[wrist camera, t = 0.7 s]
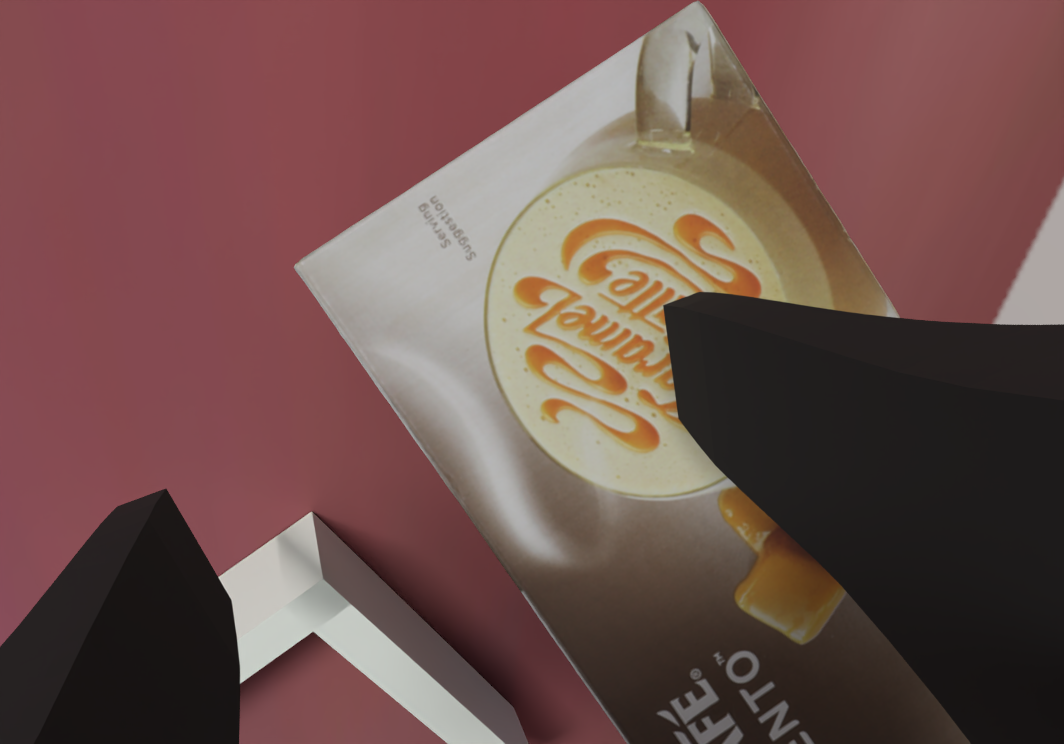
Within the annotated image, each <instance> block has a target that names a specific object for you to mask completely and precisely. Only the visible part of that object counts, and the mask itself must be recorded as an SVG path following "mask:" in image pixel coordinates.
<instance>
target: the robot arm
mask: <svg viewBox="0 0 1064 744" xmlns="http://www.w3.org/2000/svg"><path fill="white" fill-rule="evenodd" d="M663 309H664V316H665V324H666V331H667V338H668V346H669V353H670V360H671V368H672V375H673V382H674V390H675V397H676V404H677V412H678V419H679V420H680V422H681V423H682V424H683V426H684V427H685V428H686V429H687V431H688V432H689V433H690V435H691V436H692V437H693V439H694V440H695V441H696V443H697V444H698V445H699V446H700V448H701V449H702V450H703V451H704V452H705V454H706V455H707V456H708V457H709V459H710V460H711V461H712V462H713V463H714V465H715V466H716V467H717V468H718V469H719V470H720V471H721V472H722V473H723V474H724V475H725V476H726V477H727V478H729V479H730V480H731V481H732V482H733V483H734V484H735V485H736V486H737V487H738V488H739V489H740V490H741V491H742V492H743V493H744V494H745V495H746V496H747V497H749V498H750V499H751V500H752V501H753V502H754V503H755V504H756V505H757V506H758V507H759V508H760V509H761V510H762V511H764V512H765V513H766V514H767V515H768V516H769V517H770V518H771V519H772V520H773V521H774V522H775V523H776V524H778V525H779V526H780V527H781V528H782V529H783V530H784V531H785V532H786V533H787V534H788V535H789V536H790V537H791V538H793V539H794V540H795V541H796V542H797V543H798V544H799V545H800V546H801V547H802V548H803V549H804V550H805V551H807V552H808V553H809V554H810V555H811V556H812V557H813V558H814V559H815V560H816V561H817V562H818V563H819V564H820V565H821V566H822V567H823V568H824V569H825V570H826V571H827V572H828V573H829V574H830V575H831V576H832V577H833V578H834V579H835V580H836V581H837V582H838V583H839V584H840V585H841V586H842V587H843V588H844V590H845V591H846V592H847V593H848V594H849V595H850V596H851V598H852V599H853V600H854V601H855V602H856V603H857V605H858V606H859V607H860V608H861V609H862V610H863V611H864V613H865V614H866V615H867V616H868V617H869V618H870V620H871V621H872V622H873V623H874V624H875V625H876V626H877V628H878V629H879V630H880V631H881V632H882V633H883V635H884V636H885V637H886V638H887V639H888V640H889V642H890V643H891V644H892V645H893V646H894V648H895V649H896V650H897V651H898V653H899V654H900V655H901V656H902V657H903V659H904V660H905V661H906V662H907V664H908V665H909V666H910V667H911V668H912V670H913V671H914V672H915V673H916V675H917V676H918V677H919V678H920V679H921V681H922V682H923V683H924V684H925V686H926V687H927V688H928V689H929V690H930V692H931V693H932V694H933V695H934V697H935V698H936V699H937V700H938V702H939V703H940V704H941V705H942V707H943V708H944V709H945V711H946V712H947V713H948V714H949V716H950V717H951V718H952V720H953V721H954V722H955V724H956V725H957V726H958V727H959V729H960V730H961V731H962V733H963V734H964V735H965V737H966V738H967V739H968V740H969V742H970V743H971V744H1064V325H999V324H977V323H955V322H938V321H925V320H913V319H904V318H895V317H886V316H877V315H868V314H860V313H853V312H845V311H838V310H832V309H825V308H818V307H812V306H805V305H799V304H793V303H787V302H780V301H774V300H768V299H762V298H755V297H749V296H742V295H734V294H726V293H716V292H697V293H695V294H692V295H689V296H687V297H684V298H681V299H678V300H676V301H673V302H670V303H668V304H665V305H663ZM239 718H240V661H239V652H238V643H237V635H236V628H235V620H234V613H233V606H232V600H231V598H230V597H229V595H228V593H227V592H226V590H225V588H224V586H223V585H222V583H221V581H220V580H219V578H218V576H217V574H216V573H215V571H214V569H213V568H212V566H211V564H210V563H209V561H208V559H207V557H206V556H205V554H204V552H203V551H202V549H201V547H200V545H199V544H198V542H197V540H196V539H195V537H194V535H193V534H192V532H191V530H190V528H189V527H188V525H187V523H186V522H185V520H184V518H183V516H182V515H181V513H180V511H179V510H178V508H177V506H176V504H175V503H174V501H173V499H172V498H171V496H170V494H169V493H168V491H167V489H164V490H161V491H158V492H156V493H153V494H150V495H147V496H145V497H142V498H139V499H137V500H134V501H131V502H128V503H126V504H123V505H120V506H118V507H116V508H115V509H114V510H113V511H112V512H111V513H110V514H109V515H108V517H107V518H106V519H105V520H104V521H103V522H102V523H101V524H100V526H99V527H98V528H97V529H96V530H95V532H94V533H93V534H92V535H91V536H90V538H89V539H88V540H87V541H86V543H85V544H84V545H83V546H82V548H81V549H80V550H79V551H78V553H77V554H76V555H75V556H74V558H73V559H72V560H71V561H70V563H69V564H68V565H67V566H66V568H65V569H64V570H63V571H62V573H61V574H60V575H59V576H58V578H57V579H56V580H55V581H54V583H53V584H52V585H51V586H50V588H49V589H48V590H47V591H46V593H45V594H44V595H43V596H42V597H41V599H40V600H39V601H38V602H37V604H36V605H35V606H34V607H33V609H32V610H31V611H30V612H29V614H28V615H27V616H26V617H25V619H24V620H23V621H22V622H21V623H20V625H19V626H18V627H17V628H16V629H15V631H14V632H13V633H12V634H11V635H10V636H9V637H8V639H7V640H6V641H5V642H4V643H3V644H2V646H1V647H0V744H239Z"/></svg>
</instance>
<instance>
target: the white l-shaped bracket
mask: <svg viewBox="0 0 1064 744" xmlns="http://www.w3.org/2000/svg"><path fill="white" fill-rule="evenodd" d="M218 578H219V580H220V581H221V583H222V585H223V586H224V588H225V590H226V592H227V593H228V595H229V597H230V598H231V600H232V606H233V613H234V620H235V628H236V635H237V643H238V652H239V661H240V683H242V682H243V681H245V680H246V679H247V678H249V677H250V676H252V675H253V674H254V673H256V672H257V671H259V670H260V669H261V668H263V667H264V666H266V665H267V664H268V663H270V662H271V661H273V660H274V659H275V658H277V657H278V656H280V655H281V654H282V653H284V652H285V651H287V650H288V649H289V648H291V647H292V646H294V645H295V644H296V643H298V642H299V641H301V640H302V639H303V638H305V637H306V636H308V635H309V634H310V633H312V632H314V633H316V634H317V635H318V636H319V637H320V638H322V639H323V640H324V641H325V642H326V643H328V644H329V645H330V646H331V647H332V648H334V649H335V650H336V651H337V652H338V653H340V654H341V655H342V656H343V657H344V658H346V659H347V660H348V661H349V662H350V663H352V664H353V665H354V666H355V667H356V668H358V669H359V670H360V671H361V672H362V673H364V674H365V675H366V676H367V677H368V678H370V679H371V680H372V681H373V682H374V683H376V684H377V685H378V686H379V687H380V688H382V689H383V690H384V691H385V692H386V693H388V694H389V695H390V696H391V697H392V698H394V699H395V700H396V701H397V702H398V703H400V704H401V705H402V706H403V707H404V708H406V709H407V710H408V711H409V712H410V713H412V714H413V715H414V716H415V717H416V718H418V719H419V720H420V721H421V722H422V723H424V724H425V725H426V726H427V727H428V728H430V729H431V730H432V731H433V732H434V733H436V734H437V735H438V736H439V737H440V738H442V739H443V740H444V741H445V742H446V743H448V744H529V743H528V741H527V739H526V736H525V734H524V731H523V729H522V726H521V724H520V721H519V719H518V717H517V714H516V712H515V709H514V707H513V706H512V705H511V704H510V703H509V702H508V701H507V700H506V699H505V698H503V697H502V696H501V695H500V694H499V693H498V692H497V691H496V690H495V689H494V688H493V687H492V686H491V685H490V684H489V683H488V682H487V681H486V680H485V679H484V678H483V677H482V676H481V675H480V674H479V673H478V672H477V671H476V670H475V669H474V668H473V667H472V666H471V665H470V664H468V663H467V662H466V661H465V660H464V659H463V658H462V657H461V656H460V655H459V654H458V653H457V652H456V651H455V650H454V649H453V648H452V647H451V646H450V645H449V644H448V643H447V642H446V641H445V640H444V639H443V638H442V637H441V636H440V635H439V634H438V633H437V632H436V631H434V630H433V629H432V628H431V627H430V626H429V625H428V624H427V623H426V622H425V621H424V620H423V619H422V618H421V617H420V616H419V615H418V614H417V613H416V612H415V611H414V610H413V609H412V608H411V607H410V606H409V605H408V604H407V603H406V602H405V601H404V600H403V599H402V598H400V597H399V596H398V595H397V594H396V593H395V592H394V591H393V590H392V589H391V588H390V587H389V586H388V585H387V584H386V583H385V582H384V581H383V580H382V579H381V578H380V577H379V576H378V575H377V574H376V573H375V572H374V571H373V570H372V569H371V568H370V567H369V566H368V565H366V564H365V563H364V562H363V561H362V560H361V559H360V558H359V557H358V556H357V555H356V554H355V553H354V552H353V551H352V550H351V549H350V548H349V547H348V546H347V545H346V544H345V543H344V542H343V541H342V540H341V539H340V538H339V537H338V536H337V535H336V534H335V533H334V532H332V531H331V530H330V529H329V528H328V527H327V526H326V525H325V524H324V523H323V522H322V521H321V520H320V519H319V518H318V517H317V516H316V515H315V514H314V513H313V512H310V513H309V514H307V515H306V516H305V517H303V518H302V519H300V520H299V521H297V522H296V523H295V524H293V525H292V526H290V527H289V528H288V529H286V530H285V531H283V532H282V533H280V534H279V535H278V536H276V537H275V538H273V539H272V540H271V541H269V542H268V543H266V544H265V545H263V546H262V547H261V548H259V549H258V550H256V551H255V552H253V553H252V554H251V555H249V556H248V557H246V558H245V559H244V560H242V561H241V562H239V563H238V564H236V565H235V566H234V567H232V568H231V569H229V570H228V571H227V572H225V573H224V574H222V575H221V576H219V577H218Z"/></svg>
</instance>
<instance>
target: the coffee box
mask: <svg viewBox="0 0 1064 744" xmlns="http://www.w3.org/2000/svg"><path fill="white" fill-rule="evenodd" d="M294 268H295V270H296V272H297V273H298V274H299V276H300V277H301V278H302V280H303V281H304V282H305V283H306V285H307V286H308V288H309V289H310V291H311V292H312V293H313V295H314V296H315V298H316V299H317V301H318V302H319V304H320V305H321V306H322V308H323V309H324V311H325V312H326V314H327V315H328V317H329V318H330V319H331V321H332V322H333V324H334V325H335V327H336V328H337V330H338V331H339V333H340V335H341V336H342V337H343V339H344V340H345V341H346V342H347V344H348V345H349V347H350V348H351V350H352V351H353V353H354V354H355V355H356V357H357V358H358V360H359V361H360V363H361V364H362V365H363V367H364V368H365V370H366V371H367V373H368V374H369V376H370V377H371V379H372V380H373V381H374V383H375V384H376V386H377V387H378V389H379V390H380V392H381V393H382V394H383V396H384V397H385V398H386V400H387V401H388V402H389V404H390V405H391V407H392V408H393V409H394V411H395V412H396V414H397V415H398V417H399V418H400V420H401V421H402V422H403V424H404V425H405V427H406V428H407V430H408V431H409V432H410V434H411V435H412V437H413V438H414V440H415V441H416V443H417V444H418V445H419V447H420V448H421V450H422V451H423V452H424V454H425V455H426V457H427V458H428V459H429V461H430V462H431V463H432V465H433V466H434V468H435V469H436V470H437V472H438V473H439V475H440V476H441V478H442V480H443V481H444V483H445V484H446V485H447V487H448V488H449V489H450V491H451V492H452V493H453V495H454V496H455V497H456V499H457V500H458V502H459V503H460V504H461V506H462V507H463V509H464V510H465V512H466V513H467V515H468V516H469V518H470V519H471V520H472V522H473V523H474V525H475V526H476V528H477V529H478V531H479V532H480V534H481V535H482V536H483V538H484V539H485V541H486V542H487V544H488V545H489V547H490V548H491V550H492V551H493V553H494V554H495V555H496V557H497V558H498V560H499V561H500V563H501V564H502V566H503V567H504V569H505V570H506V571H507V573H508V574H509V576H510V577H511V578H512V580H513V581H514V583H515V584H516V585H517V587H518V588H519V590H520V591H521V592H522V594H523V595H524V597H525V598H526V600H527V601H528V603H529V604H530V606H531V607H532V609H533V610H534V611H535V613H536V614H537V616H538V617H539V619H540V620H541V622H542V623H543V625H544V626H545V628H546V629H547V630H548V632H549V633H550V635H551V636H552V638H553V639H554V640H555V642H556V643H557V645H558V646H559V648H560V649H561V650H562V652H563V653H564V655H565V656H566V657H567V659H568V660H569V662H570V663H571V665H572V666H573V667H574V669H575V670H576V672H577V673H578V675H579V676H580V678H581V679H582V680H583V682H584V683H585V685H586V686H587V688H588V689H589V690H590V692H591V693H592V695H593V696H594V697H595V699H596V700H597V702H598V703H599V704H600V706H601V707H602V709H603V710H604V712H605V713H606V714H607V716H608V717H609V719H610V720H611V721H612V723H613V724H614V726H615V727H616V729H617V730H618V731H619V733H620V734H621V736H622V737H623V738H624V740H625V741H626V743H627V744H971V743H970V742H969V740H968V739H967V738H966V737H965V735H964V734H963V733H962V731H961V730H960V729H959V727H958V726H957V725H956V724H955V722H954V721H953V720H952V718H951V717H950V716H949V714H948V713H947V712H946V711H945V709H944V708H943V707H942V705H941V704H940V703H939V702H938V700H937V699H936V698H935V697H934V695H933V694H932V693H931V692H930V690H929V689H928V688H927V687H926V686H925V684H924V683H923V682H922V681H921V679H920V678H919V677H918V676H917V675H916V673H915V672H914V671H913V670H912V668H911V667H910V666H909V665H908V664H907V662H906V661H905V660H904V659H903V657H902V656H901V655H900V654H899V653H898V651H897V650H896V649H895V648H894V646H893V645H892V644H891V643H890V642H889V640H888V639H887V638H886V637H885V636H884V635H883V633H882V632H881V631H880V630H879V629H878V628H877V626H876V625H875V624H874V623H873V622H872V621H871V620H870V618H869V617H868V616H867V615H866V614H865V613H864V611H863V610H862V609H861V608H860V607H859V606H858V605H857V603H856V602H855V601H854V600H853V599H852V598H851V596H850V595H849V594H848V593H847V592H846V591H845V590H844V588H843V587H842V586H841V585H840V584H839V583H838V582H837V581H836V580H835V579H834V578H833V577H832V576H831V575H830V574H829V573H828V572H827V571H826V570H825V569H824V568H823V567H822V566H821V565H820V564H819V563H818V562H817V561H816V560H815V559H814V558H813V557H812V556H811V555H810V554H809V553H808V552H807V551H805V550H804V549H803V548H802V547H801V546H800V545H799V544H798V543H797V542H796V541H795V540H794V539H793V538H791V537H790V536H789V535H788V534H787V533H786V532H785V531H784V530H783V529H782V528H781V527H780V526H779V525H778V524H776V523H775V522H774V521H773V520H772V519H771V518H770V517H769V516H768V515H767V514H766V513H765V512H764V511H762V510H761V509H760V508H759V507H758V506H757V505H756V504H755V503H754V502H753V501H752V500H751V499H750V498H749V497H747V496H746V495H745V494H744V493H743V492H742V491H741V490H740V489H739V488H738V487H737V486H736V485H735V484H734V483H733V482H732V481H731V480H730V479H729V478H727V477H726V476H725V475H724V474H723V473H722V472H721V471H720V470H719V469H718V468H717V467H716V466H715V465H714V463H713V462H712V461H711V460H710V459H709V457H708V456H707V455H706V454H705V452H704V451H703V450H702V449H701V448H700V446H699V445H698V444H697V443H696V441H695V440H694V439H693V437H692V436H691V435H690V433H689V432H688V431H687V429H686V428H685V427H684V426H683V424H682V423H681V422H680V420H679V419H678V412H677V404H676V397H675V390H674V382H673V375H672V368H671V360H670V353H669V346H668V338H667V331H666V324H665V316H664V309H663V305H665V304H668V303H670V302H673V301H676V300H678V299H681V298H684V297H687V296H689V295H692V294H695V293H697V292H716V293H726V294H734V295H742V296H749V297H755V298H762V299H768V300H774V301H780V302H787V303H793V304H799V305H805V306H812V307H818V308H825V309H832V310H838V311H845V312H853V313H860V314H868V315H877V316H886V317H895V318H900V317H899V315H898V313H897V311H896V310H895V308H894V306H893V305H892V303H891V301H890V300H889V298H888V297H887V295H886V294H885V292H884V291H883V289H882V287H881V286H880V284H879V283H878V281H877V279H876V278H875V276H874V275H873V273H872V271H871V270H870V268H869V267H868V265H867V264H866V262H865V260H864V259H863V257H862V256H861V254H860V252H859V251H858V249H857V247H856V246H855V244H854V243H853V241H852V240H851V239H850V237H849V235H848V234H847V232H846V230H845V228H844V227H843V225H842V223H841V222H840V220H839V218H838V217H837V215H836V214H835V212H834V211H833V209H832V208H831V206H830V205H829V203H828V202H827V200H826V199H825V197H824V196H823V194H822V192H821V191H820V189H819V188H818V186H817V184H816V183H815V181H814V179H813V178H812V176H811V174H810V173H809V171H808V170H807V169H806V167H805V165H804V164H803V162H802V160H801V159H800V157H799V155H798V154H797V152H796V151H795V149H794V148H793V146H792V145H791V143H790V142H789V140H788V139H787V137H786V136H785V134H784V133H783V131H782V129H781V128H780V126H779V124H778V123H777V121H776V119H775V118H774V116H773V115H772V113H771V111H770V110H769V108H768V107H767V105H766V104H765V102H764V101H763V99H762V97H761V96H760V94H759V93H758V91H757V89H756V88H755V86H754V85H753V83H752V81H751V80H750V78H749V76H748V75H747V73H746V71H745V70H744V68H743V67H742V65H741V63H740V62H739V60H738V58H737V57H736V55H735V54H734V52H733V50H732V49H731V47H730V46H729V44H728V42H727V41H726V39H725V38H724V36H723V34H722V33H721V31H720V29H719V28H718V26H717V24H716V23H715V21H714V20H713V18H712V17H711V15H710V14H709V12H708V11H707V9H706V8H705V6H704V5H703V4H702V3H700V2H699V1H696V2H694V3H692V4H690V5H688V6H687V7H685V8H684V9H682V10H681V11H679V12H678V13H676V14H675V15H673V16H672V17H670V18H669V19H667V20H666V21H664V22H663V23H661V24H660V25H658V26H657V27H655V28H654V29H652V30H651V31H649V32H648V33H646V34H645V35H643V36H642V37H640V38H639V39H637V40H636V41H634V42H633V43H631V44H630V45H628V46H627V47H625V48H624V49H622V50H621V51H619V52H618V53H616V54H615V55H613V56H612V57H610V58H609V59H607V60H605V61H604V62H602V63H601V64H599V65H598V66H596V67H595V68H593V69H592V70H590V71H589V72H587V73H586V74H584V75H582V76H581V77H579V78H578V79H576V80H575V81H573V82H572V83H570V84H569V85H567V86H566V87H564V88H563V89H561V90H559V91H558V92H556V93H555V94H553V95H552V96H550V97H549V98H547V99H546V100H544V101H543V102H541V103H540V104H538V105H536V106H535V107H533V108H532V109H530V110H529V111H527V112H526V113H524V114H523V115H521V116H520V117H518V118H517V119H515V120H514V121H512V122H511V123H509V124H508V125H506V126H505V127H503V128H502V129H500V130H499V131H497V132H496V133H494V134H492V135H491V136H489V137H488V138H486V139H485V140H484V141H482V142H481V143H479V144H478V145H476V146H474V147H473V148H471V149H470V150H468V151H467V152H465V153H464V154H462V155H461V156H459V157H457V158H456V159H454V160H453V161H451V162H450V163H448V164H447V165H445V166H444V167H442V168H441V169H439V170H438V171H436V172H435V173H433V174H432V175H430V176H429V177H427V178H426V179H424V180H422V181H421V182H419V183H418V184H416V185H415V186H413V187H412V188H410V189H409V190H407V191H406V192H404V193H403V194H401V195H400V196H398V197H397V198H395V199H394V200H392V201H390V202H389V203H387V204H386V205H384V206H383V207H381V208H379V209H378V210H376V211H375V212H373V213H371V214H370V215H368V216H367V217H365V218H364V219H362V220H360V221H359V222H357V223H356V224H354V225H353V226H351V227H350V228H348V229H347V230H345V231H344V232H342V233H341V234H339V235H338V236H336V237H335V238H333V239H332V240H330V241H329V242H327V243H326V244H324V245H323V246H321V247H319V248H318V249H316V250H315V251H313V252H312V253H310V254H309V255H307V256H305V257H304V258H302V259H301V260H300V261H299V262H298V263H296V264H295V266H294Z"/></svg>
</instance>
